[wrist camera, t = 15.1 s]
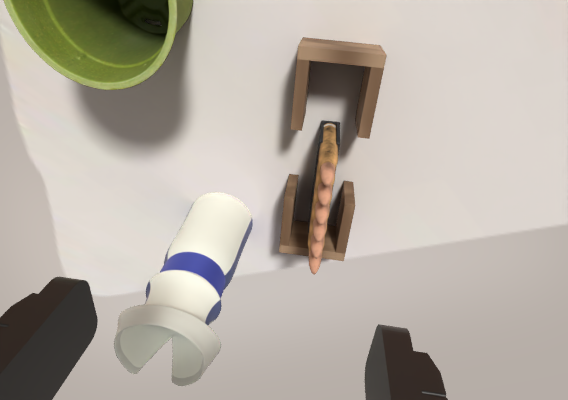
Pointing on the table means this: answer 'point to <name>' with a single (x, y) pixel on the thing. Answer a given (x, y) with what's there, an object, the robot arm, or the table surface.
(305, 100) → the end cap
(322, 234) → the ammunition clip
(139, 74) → the plant pot
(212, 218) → the water bottle
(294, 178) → the end cap
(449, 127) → the table surface
